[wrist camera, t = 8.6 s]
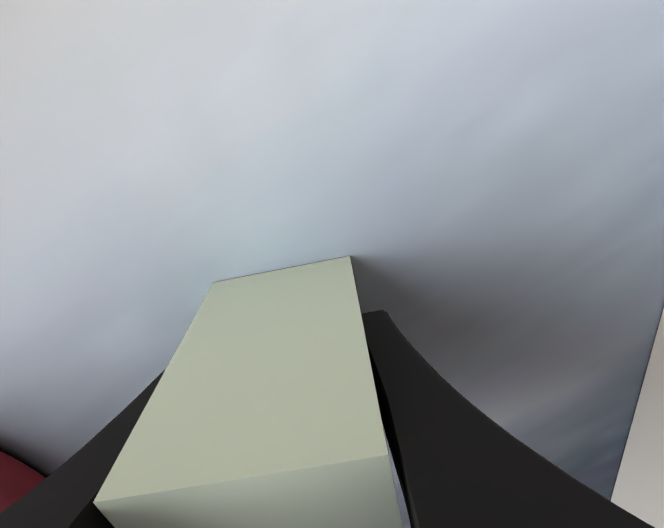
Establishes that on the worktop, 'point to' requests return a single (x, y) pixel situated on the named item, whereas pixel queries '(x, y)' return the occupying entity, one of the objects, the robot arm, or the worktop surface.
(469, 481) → the robot arm
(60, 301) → the worktop surface
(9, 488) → the canister
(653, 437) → the serving tray
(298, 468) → the sage block
